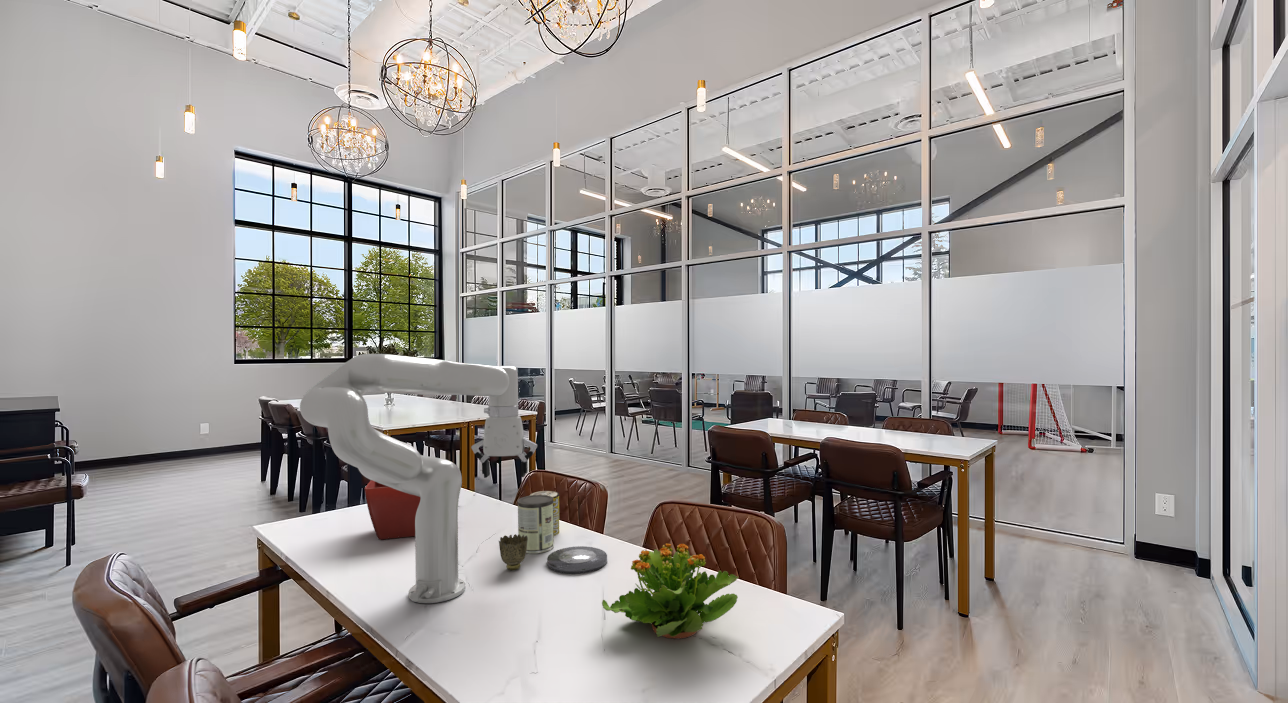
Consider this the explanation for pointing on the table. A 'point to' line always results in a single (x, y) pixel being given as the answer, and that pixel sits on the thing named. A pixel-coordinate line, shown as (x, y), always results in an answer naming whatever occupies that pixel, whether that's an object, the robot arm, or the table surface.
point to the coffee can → (536, 522)
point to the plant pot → (391, 511)
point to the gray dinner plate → (577, 560)
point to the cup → (513, 550)
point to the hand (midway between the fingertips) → (504, 476)
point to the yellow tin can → (555, 508)
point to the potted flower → (674, 593)
